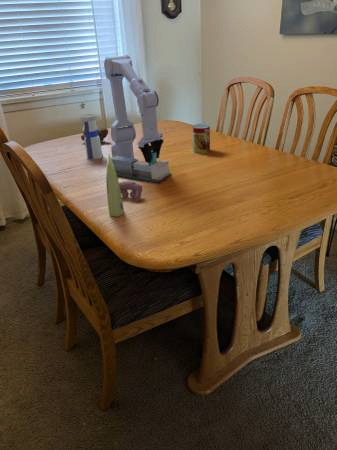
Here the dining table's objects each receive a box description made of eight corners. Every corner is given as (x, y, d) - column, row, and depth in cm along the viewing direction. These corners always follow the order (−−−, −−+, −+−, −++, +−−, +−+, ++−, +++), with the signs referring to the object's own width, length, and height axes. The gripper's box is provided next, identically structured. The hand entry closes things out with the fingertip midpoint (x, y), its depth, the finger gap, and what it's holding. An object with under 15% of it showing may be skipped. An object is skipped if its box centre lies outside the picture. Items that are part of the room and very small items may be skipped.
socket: (151, 178, 148) (150, 165, 145) (160, 173, 153) (159, 160, 150) (160, 180, 146) (159, 166, 143) (169, 174, 151) (168, 161, 148)
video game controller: (142, 202, 135) (144, 182, 135) (137, 201, 131) (139, 181, 130) (117, 200, 138) (119, 180, 138) (112, 199, 134) (113, 179, 133)
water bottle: (81, 159, 177) (72, 104, 165) (91, 153, 184) (83, 100, 172) (96, 160, 174) (88, 104, 163) (106, 154, 181) (99, 101, 169)
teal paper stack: (127, 168, 154) (125, 150, 151) (131, 166, 156) (129, 148, 153) (160, 173, 147) (158, 155, 143) (163, 171, 149) (162, 153, 145)
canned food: (210, 153, 175) (210, 127, 169) (193, 154, 175) (193, 128, 169) (209, 148, 182) (209, 123, 176) (192, 149, 182) (192, 124, 176)
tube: (104, 214, 125) (96, 157, 115) (116, 208, 128) (108, 152, 119) (116, 218, 121) (108, 160, 112) (127, 212, 125) (121, 155, 115)
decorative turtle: (109, 144, 196) (106, 129, 192) (80, 148, 197) (77, 133, 193) (111, 138, 204) (108, 124, 200) (84, 141, 206) (81, 127, 201)
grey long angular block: (107, 175, 157) (105, 160, 154) (121, 167, 164) (119, 153, 161) (158, 184, 145) (157, 168, 142) (171, 175, 152) (170, 160, 149)
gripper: (148, 131, 134) (150, 167, 140) (168, 121, 145) (170, 155, 151) (131, 129, 137) (135, 164, 144) (153, 120, 148) (155, 153, 155)
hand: (152, 160), depth 148 cm, fingers open, 5 cm apart
